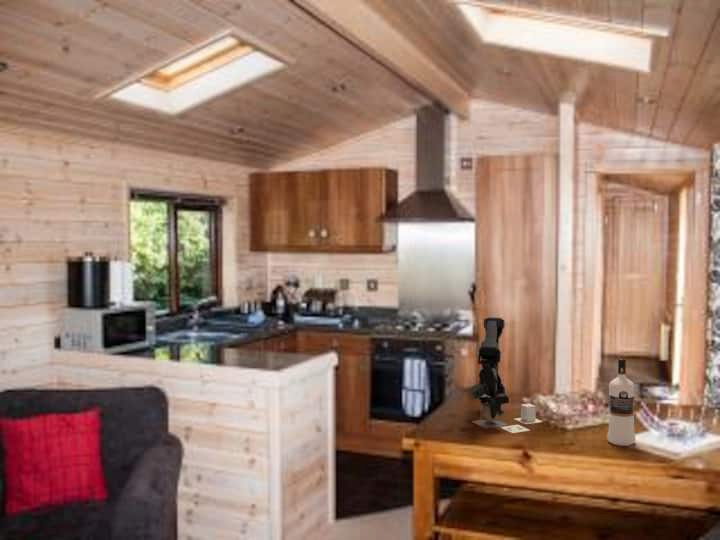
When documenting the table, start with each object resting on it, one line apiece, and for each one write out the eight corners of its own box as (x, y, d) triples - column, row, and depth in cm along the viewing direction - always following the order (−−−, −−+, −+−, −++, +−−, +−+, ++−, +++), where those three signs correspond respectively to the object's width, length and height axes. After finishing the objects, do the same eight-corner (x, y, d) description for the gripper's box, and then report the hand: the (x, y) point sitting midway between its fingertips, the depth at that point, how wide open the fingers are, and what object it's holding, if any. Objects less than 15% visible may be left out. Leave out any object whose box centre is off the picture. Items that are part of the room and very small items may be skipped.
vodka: (635, 439, 238) (636, 356, 236) (635, 447, 229) (636, 362, 227) (607, 437, 241) (608, 355, 239) (607, 445, 233) (607, 360, 231)
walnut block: (480, 418, 260) (480, 403, 260) (491, 417, 262) (491, 402, 262) (487, 422, 256) (487, 406, 255) (498, 420, 258) (498, 405, 257)
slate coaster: (471, 422, 262) (471, 421, 262) (493, 419, 266) (493, 418, 266) (485, 429, 253) (485, 428, 253) (507, 425, 256) (507, 424, 256)
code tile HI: (513, 419, 265) (513, 418, 265) (530, 417, 268) (530, 416, 268) (525, 425, 257) (525, 424, 257) (542, 422, 260) (542, 421, 260)
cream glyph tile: (500, 427, 254) (500, 427, 254) (517, 425, 257) (517, 424, 257) (512, 433, 247) (512, 433, 247) (530, 431, 250) (530, 430, 250)
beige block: (520, 419, 263) (520, 404, 263) (529, 418, 265) (529, 403, 265) (527, 422, 260) (527, 407, 259) (535, 420, 261) (535, 405, 261)
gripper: (458, 374, 264) (459, 412, 265) (484, 384, 246) (484, 425, 247) (482, 371, 268) (483, 409, 269) (509, 381, 250) (509, 421, 252)
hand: (489, 416), depth 259 cm, fingers closed on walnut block, 5 cm apart
